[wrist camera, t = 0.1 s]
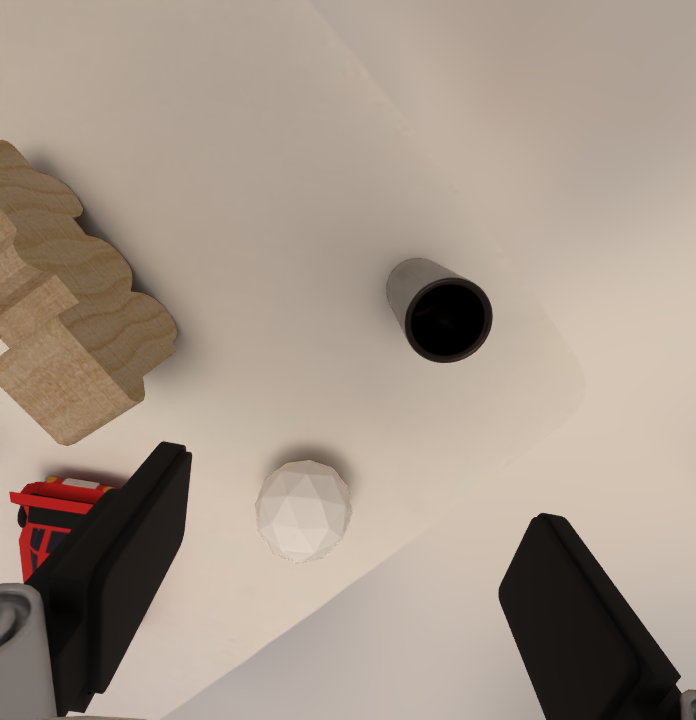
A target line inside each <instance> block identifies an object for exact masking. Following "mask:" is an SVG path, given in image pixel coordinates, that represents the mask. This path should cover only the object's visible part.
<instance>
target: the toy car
mask: <svg viewBox="0 0 696 720" xmlns="http://www.w3.org/2000/svg"><path fill="white" fill-rule="evenodd" d="M111 488H116V487H112V486H103V485H100V483H96V482H89V481H83V480H77V479H71V478H67V479H60V478H57V477H55V476H51V477H48V478H47V479H46V481H45V482H35V483H31V484H27V485H26V486H25V487H24V488H23V490H22V491H21V493H15V492H9V493H10V499H11V502H12V503H15V504H19V505H21V506H20V509H19V512H18V524H19V526H20V527H22V528H23V529H22V532H21V535H20V538H19V546H20V555H21V564H22V573H23V582H24V583H25V581H26V580H27V579H28V578H29V577H30V576H31V575H32V574H33V572H34V571H35V570H36V569H37V568H38V567H39V566H40V565H41V563H42V562H43V561H44V560H45V559H46V558H47V557H48V556H49V554H50V553H51V552H52V551H53V550H54V549H55V548H56V547H57V546H58V544H59V543H60V542H61V541H62V540H63V539H64V538H65V537H66V535H67V534H68V533H69V532H70V531H71V530H72V529H73V528H74V526H75V525H76V524H77V523H78V522H79V521H80V520H81V519H82V517H83V516H84V515H85V514H86V513H87V512H88V511H89V510H90V509H91V507H92V506H93V505H94V504H95V503H96V502H97V501H98V500H99V498H100V497H101V496H102V495H103V494H104V493H105V492H106V491H107V490H109V489H111ZM116 489H118V488H116Z"/></svg>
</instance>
